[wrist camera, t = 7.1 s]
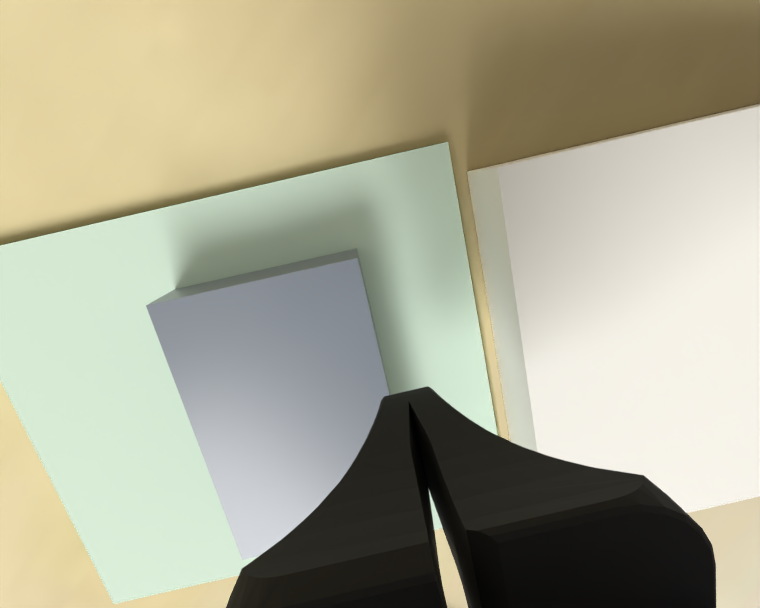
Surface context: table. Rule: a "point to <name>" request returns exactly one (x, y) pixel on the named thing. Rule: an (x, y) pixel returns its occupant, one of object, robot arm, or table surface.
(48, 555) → the table surface
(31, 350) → the mat
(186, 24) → the table surface
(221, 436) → the thick grey-blue block
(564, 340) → the white flat block
